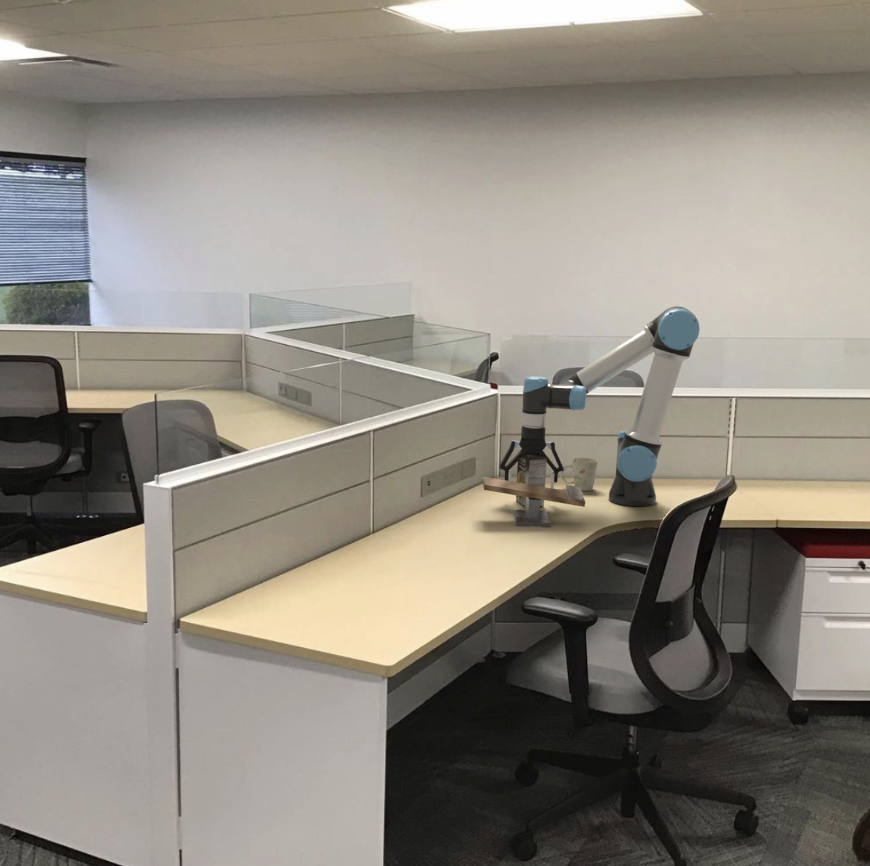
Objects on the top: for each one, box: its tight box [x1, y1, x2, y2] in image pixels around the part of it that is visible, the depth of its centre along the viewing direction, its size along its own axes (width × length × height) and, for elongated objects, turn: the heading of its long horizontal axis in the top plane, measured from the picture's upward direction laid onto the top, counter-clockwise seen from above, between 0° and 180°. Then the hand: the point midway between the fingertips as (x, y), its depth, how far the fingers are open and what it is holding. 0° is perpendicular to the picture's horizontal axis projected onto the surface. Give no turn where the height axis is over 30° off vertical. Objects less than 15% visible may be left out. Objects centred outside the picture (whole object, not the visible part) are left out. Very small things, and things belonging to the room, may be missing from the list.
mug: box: [559, 457, 599, 492], centre depth 340 cm, size 8×13×10 cm, turn 89°
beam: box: [482, 476, 586, 508], centre depth 299 cm, size 30×10×4 cm, turn 90°
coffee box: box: [515, 451, 548, 508], centre depth 318 cm, size 9×6×16 cm
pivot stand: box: [512, 497, 552, 528], centre depth 300 cm, size 10×14×8 cm
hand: (530, 491), depth 318 cm, fingers open, 13 cm apart
